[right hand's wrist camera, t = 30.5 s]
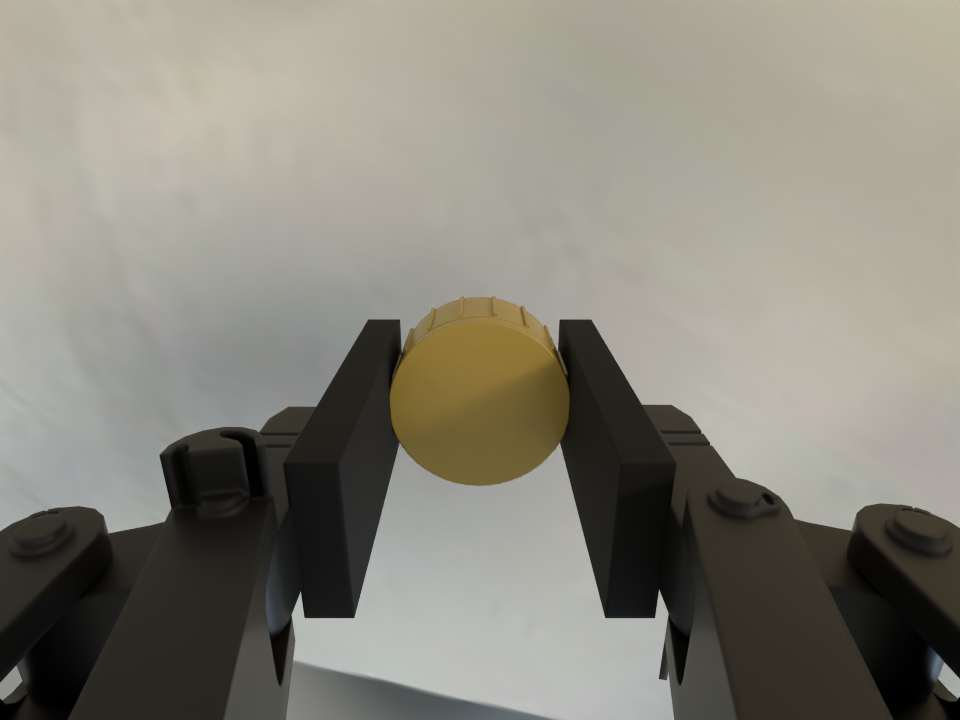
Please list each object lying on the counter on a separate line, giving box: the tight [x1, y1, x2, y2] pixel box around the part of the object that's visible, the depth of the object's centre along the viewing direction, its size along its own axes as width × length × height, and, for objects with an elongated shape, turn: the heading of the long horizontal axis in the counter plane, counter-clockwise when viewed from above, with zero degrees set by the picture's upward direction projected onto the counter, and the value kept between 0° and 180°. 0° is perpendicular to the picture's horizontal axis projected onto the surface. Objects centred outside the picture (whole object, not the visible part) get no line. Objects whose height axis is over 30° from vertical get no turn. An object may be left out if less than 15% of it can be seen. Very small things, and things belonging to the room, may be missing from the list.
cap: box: [390, 296, 570, 486], centre depth 13 cm, size 4×4×2 cm
